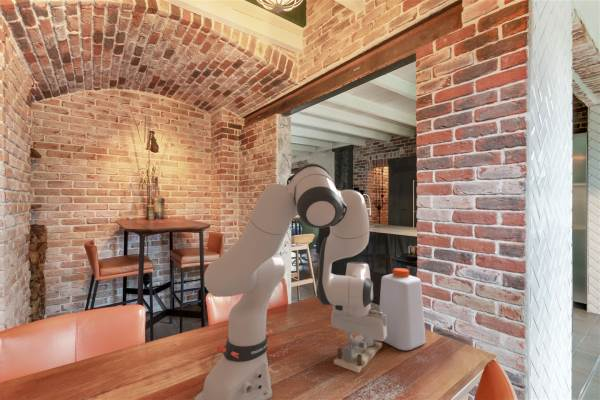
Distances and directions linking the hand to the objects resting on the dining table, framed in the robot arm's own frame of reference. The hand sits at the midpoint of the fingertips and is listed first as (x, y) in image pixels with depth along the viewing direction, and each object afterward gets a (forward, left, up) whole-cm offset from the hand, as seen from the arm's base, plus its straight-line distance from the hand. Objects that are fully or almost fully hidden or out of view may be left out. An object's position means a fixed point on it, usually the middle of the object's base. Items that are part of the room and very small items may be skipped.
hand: (358, 345), depth 103 cm
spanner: (+1, 0, -2) cm, 2 cm away
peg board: (+1, 0, -4) cm, 4 cm away
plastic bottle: (+21, -9, -4) cm, 23 cm away
